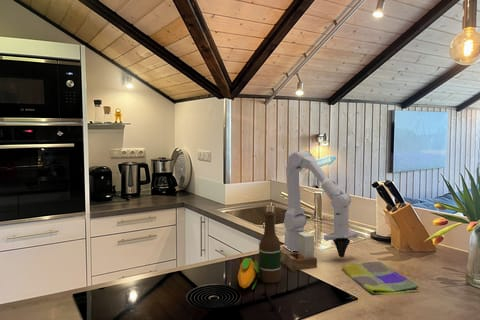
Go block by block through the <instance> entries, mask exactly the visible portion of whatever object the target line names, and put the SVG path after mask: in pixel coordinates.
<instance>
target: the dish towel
mask: <svg viewBox="0 0 480 320" xmlns="http://www.w3.org/2000/svg"><path fill="white" fill-rule="evenodd" d="M341 270H342V272H343V273H345V274H346V275H347V276H348V277H349V278H350V279H351V280H353V282H355V283H356V284H357V285H358V286H360V287H362V288H363V289H364V290H365V291H366V292H369V293H371V294H373V295H379V296H380V295H381V296H382V295H398V294H410V293H412V294H413V293H414V294H415V293H420V290H419V286H420V285H419V284H417V283H416V282H414V281H413V280H412V279H409V278H407V277H406V276H404V275H401V274H400V273H399V272H397V271H395V270H394V269H392V268H390V267H388V266H387V265H386V264H385V263H384V262H381V261H373V262H372V261H371V262H361V263H348V264H345V265H343V266H342V267H341Z"/></svg>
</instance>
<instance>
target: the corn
mask: <svg viewBox="0 0 480 320" xmlns="http://www.w3.org/2000/svg"><path fill="white" fill-rule="evenodd" d="M258 278H259V262H258V261H257V260H256V259H252V258H250V257H246V258H243V259H242V262H241V263H240V267H239V270H238V274H237V282H238V285H239V287H241V288H243V289H247V288H248V287H250V285H251V284H252V283H253V284H252V288H251V290H254V288H255V287H256V284H257V282H258V280H259V279H258Z"/></svg>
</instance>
